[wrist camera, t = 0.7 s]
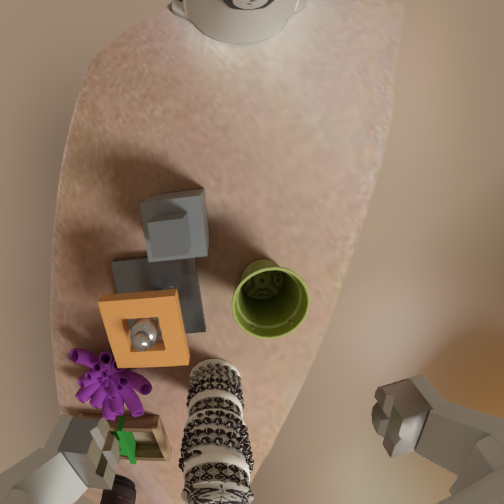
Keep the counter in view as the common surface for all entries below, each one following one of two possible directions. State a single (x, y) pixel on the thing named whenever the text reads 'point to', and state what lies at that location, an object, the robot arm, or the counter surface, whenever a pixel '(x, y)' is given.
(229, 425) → the decorative candle
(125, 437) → the green branched piece
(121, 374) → the purple tube coral
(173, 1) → the robot arm
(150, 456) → the open wooden box
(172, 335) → the collar
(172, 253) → the grey stepped block
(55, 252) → the counter surface
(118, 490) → the camera lens
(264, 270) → the plant pot
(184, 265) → the pipe stand
